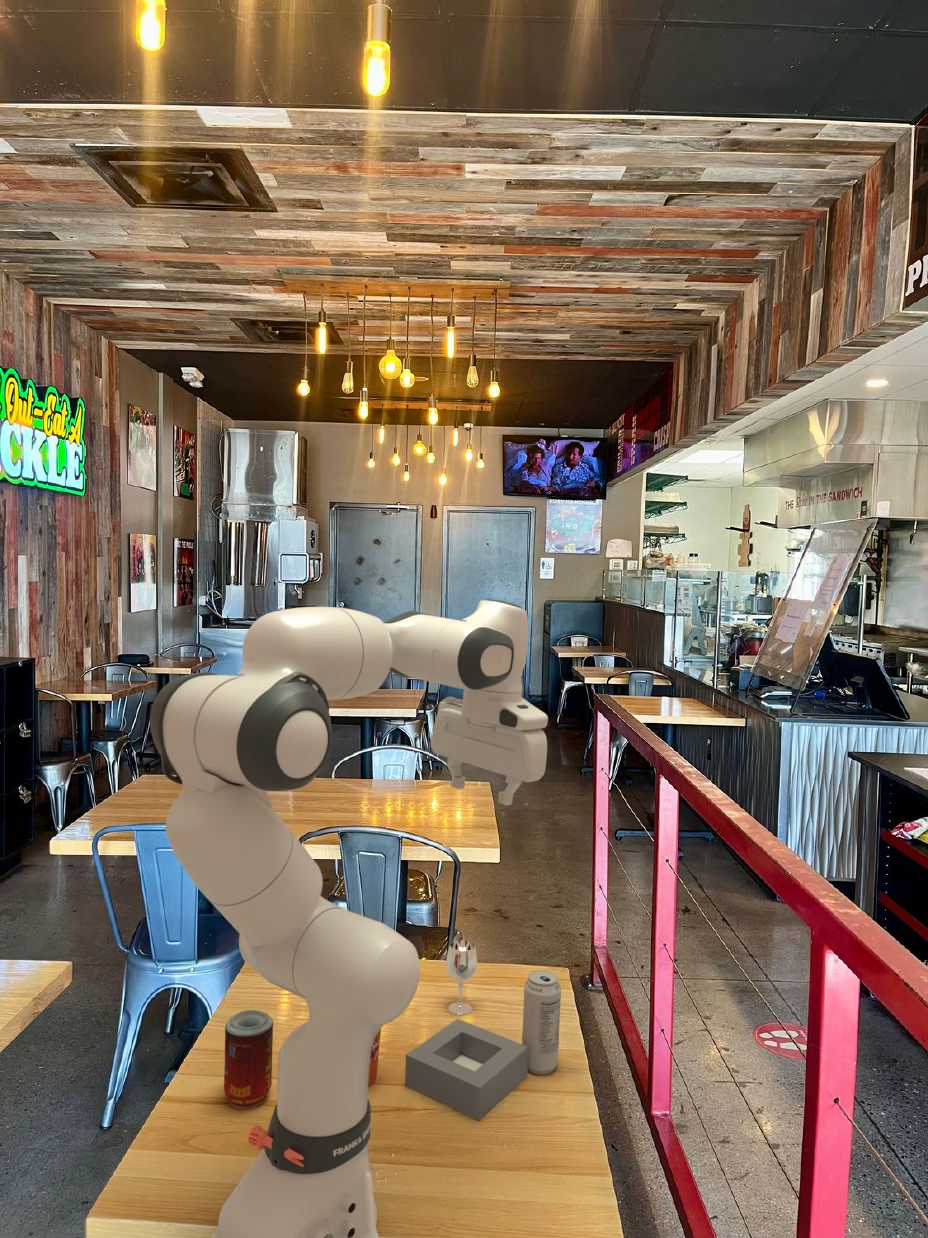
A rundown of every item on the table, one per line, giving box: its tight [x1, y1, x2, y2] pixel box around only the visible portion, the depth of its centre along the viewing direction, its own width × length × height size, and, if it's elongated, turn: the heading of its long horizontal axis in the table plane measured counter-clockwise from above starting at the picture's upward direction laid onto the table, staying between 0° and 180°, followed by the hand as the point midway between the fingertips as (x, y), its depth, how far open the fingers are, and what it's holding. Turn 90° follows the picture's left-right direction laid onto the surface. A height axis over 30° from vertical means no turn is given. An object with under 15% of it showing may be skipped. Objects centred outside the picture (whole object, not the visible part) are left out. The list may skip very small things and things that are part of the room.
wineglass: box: [445, 939, 478, 1016], centre depth 157 cm, size 6×6×12 cm
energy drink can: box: [521, 969, 562, 1076], centre depth 139 cm, size 6×6×15 cm
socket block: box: [404, 1018, 528, 1121], centre depth 134 cm, size 14×14×5 cm
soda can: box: [223, 1009, 274, 1109], centre depth 128 cm, size 7×7×12 cm
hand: (480, 795), depth 129 cm, fingers open, 8 cm apart
